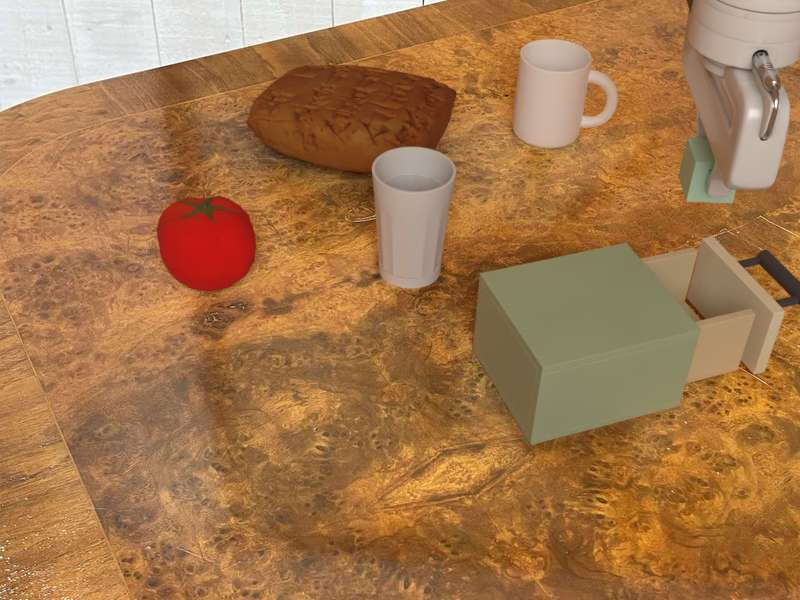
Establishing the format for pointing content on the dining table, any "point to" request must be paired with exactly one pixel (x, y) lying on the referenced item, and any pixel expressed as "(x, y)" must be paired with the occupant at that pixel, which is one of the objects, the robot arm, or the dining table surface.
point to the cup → (412, 213)
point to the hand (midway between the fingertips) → (709, 174)
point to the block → (699, 172)
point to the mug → (556, 93)
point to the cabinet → (582, 341)
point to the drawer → (726, 305)
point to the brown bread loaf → (350, 114)
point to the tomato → (206, 242)
